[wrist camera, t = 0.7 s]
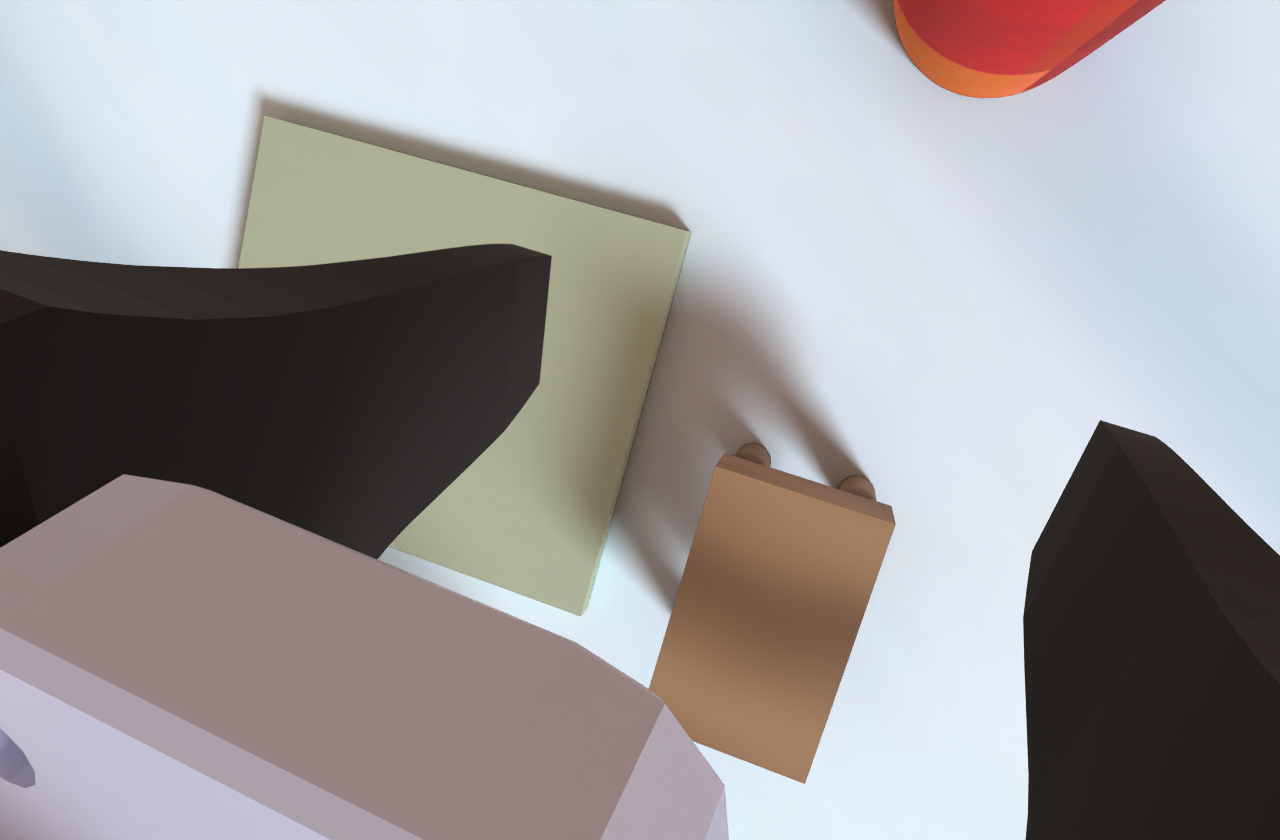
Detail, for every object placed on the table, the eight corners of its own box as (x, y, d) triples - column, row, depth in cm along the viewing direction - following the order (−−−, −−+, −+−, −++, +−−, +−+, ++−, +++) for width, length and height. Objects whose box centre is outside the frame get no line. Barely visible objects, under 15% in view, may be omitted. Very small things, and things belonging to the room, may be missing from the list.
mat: (586, 608, 32) (580, 616, 31) (216, 474, 35) (201, 478, 34) (690, 232, 29) (686, 230, 28) (278, 119, 32) (264, 115, 31)
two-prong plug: (812, 689, 30) (805, 783, 24) (676, 641, 31) (639, 720, 25) (884, 477, 29) (895, 524, 23) (740, 432, 30) (715, 466, 24)
